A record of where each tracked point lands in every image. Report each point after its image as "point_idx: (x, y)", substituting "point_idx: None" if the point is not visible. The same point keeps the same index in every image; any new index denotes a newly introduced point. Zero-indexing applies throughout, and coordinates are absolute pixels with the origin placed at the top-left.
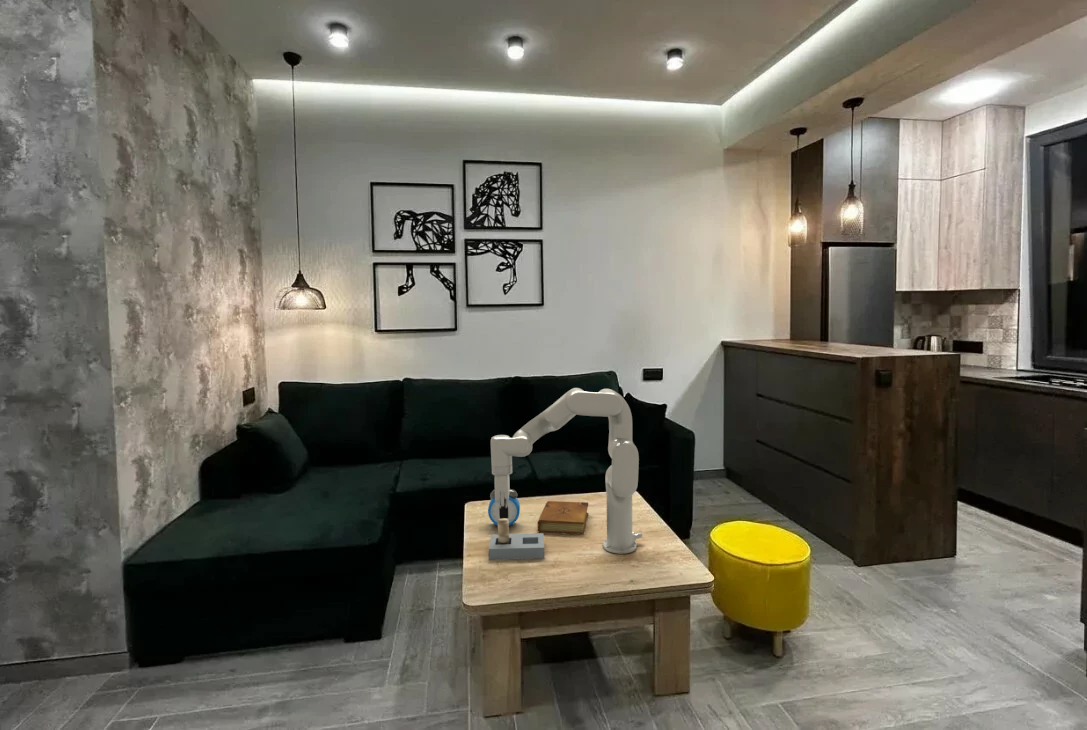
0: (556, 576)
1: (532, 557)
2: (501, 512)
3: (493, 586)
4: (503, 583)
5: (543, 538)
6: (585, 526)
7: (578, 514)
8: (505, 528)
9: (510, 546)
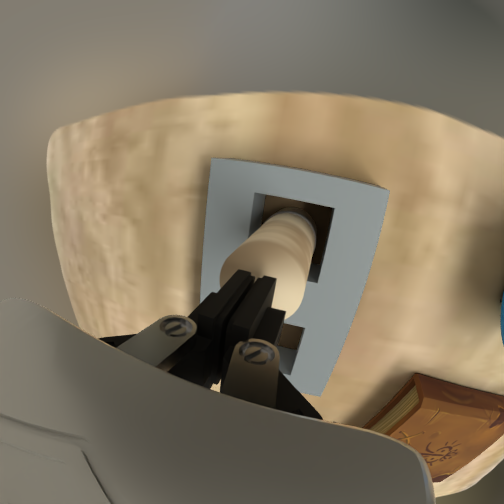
0: (123, 327)
1: None
2: (198, 308)
3: (84, 175)
4: (93, 200)
5: None
6: None
7: None
8: None
9: (221, 259)
